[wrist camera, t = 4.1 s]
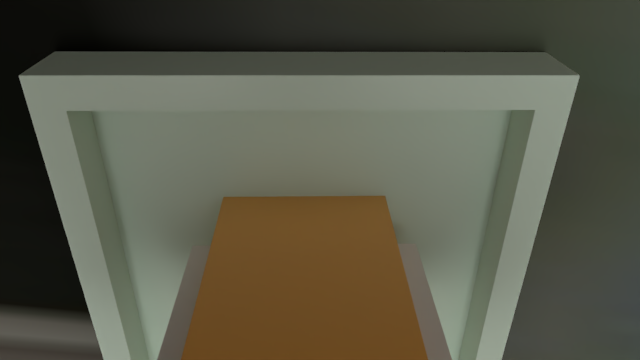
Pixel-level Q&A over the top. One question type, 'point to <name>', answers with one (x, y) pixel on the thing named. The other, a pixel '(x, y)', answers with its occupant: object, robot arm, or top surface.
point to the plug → (304, 283)
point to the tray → (299, 166)
